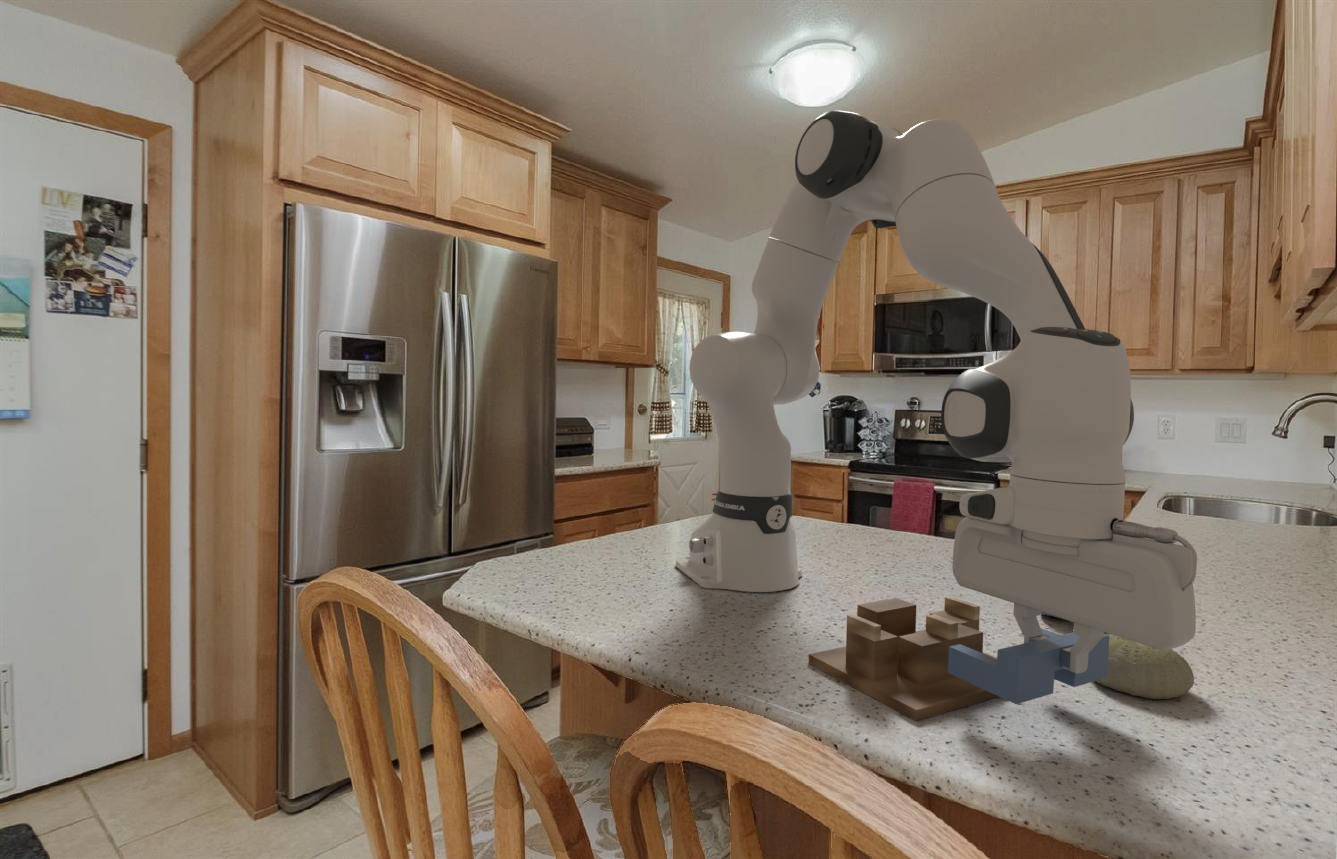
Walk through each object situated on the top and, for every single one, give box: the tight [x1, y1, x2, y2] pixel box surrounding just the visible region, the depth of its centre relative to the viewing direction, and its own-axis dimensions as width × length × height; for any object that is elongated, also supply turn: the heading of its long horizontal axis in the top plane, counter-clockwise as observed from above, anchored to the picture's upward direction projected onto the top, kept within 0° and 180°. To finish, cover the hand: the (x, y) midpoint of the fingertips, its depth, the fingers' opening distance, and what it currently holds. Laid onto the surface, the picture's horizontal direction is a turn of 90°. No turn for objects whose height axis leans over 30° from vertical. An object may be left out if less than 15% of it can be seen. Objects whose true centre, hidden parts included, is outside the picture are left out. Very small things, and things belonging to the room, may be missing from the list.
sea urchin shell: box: [1095, 633, 1195, 700], centre depth 71 cm, size 9×8×8 cm
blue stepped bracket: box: [948, 627, 1110, 705], centre depth 64 cm, size 7×13×4 cm, turn 118°
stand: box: [808, 596, 1000, 722], centre depth 73 cm, size 15×18×7 cm
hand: (1054, 662), depth 61 cm, fingers closed on blue stepped bracket, 2 cm apart
